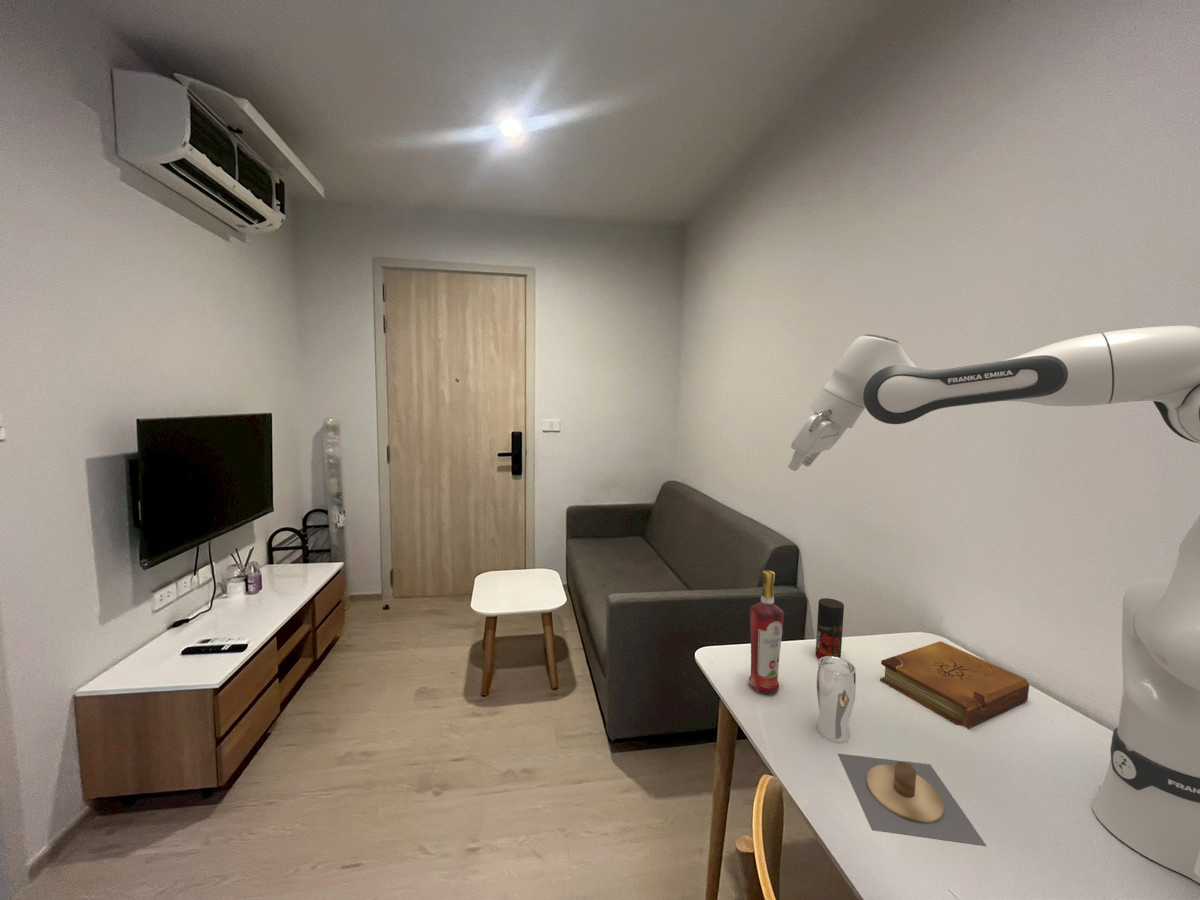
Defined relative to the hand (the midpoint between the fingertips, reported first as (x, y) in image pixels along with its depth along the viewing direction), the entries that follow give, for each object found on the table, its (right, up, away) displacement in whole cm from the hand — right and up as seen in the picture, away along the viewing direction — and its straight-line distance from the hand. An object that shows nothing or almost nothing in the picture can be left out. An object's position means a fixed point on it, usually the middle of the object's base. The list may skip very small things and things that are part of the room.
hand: (799, 467), depth 100 cm
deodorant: (+17, -51, +22) cm, 58 cm away
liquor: (-4, -53, +10) cm, 54 cm away
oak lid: (+9, -55, -21) cm, 60 cm away
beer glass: (+4, -54, -6) cm, 55 cm away
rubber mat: (+9, -56, -21) cm, 60 cm away
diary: (+39, -53, +9) cm, 67 cm away
